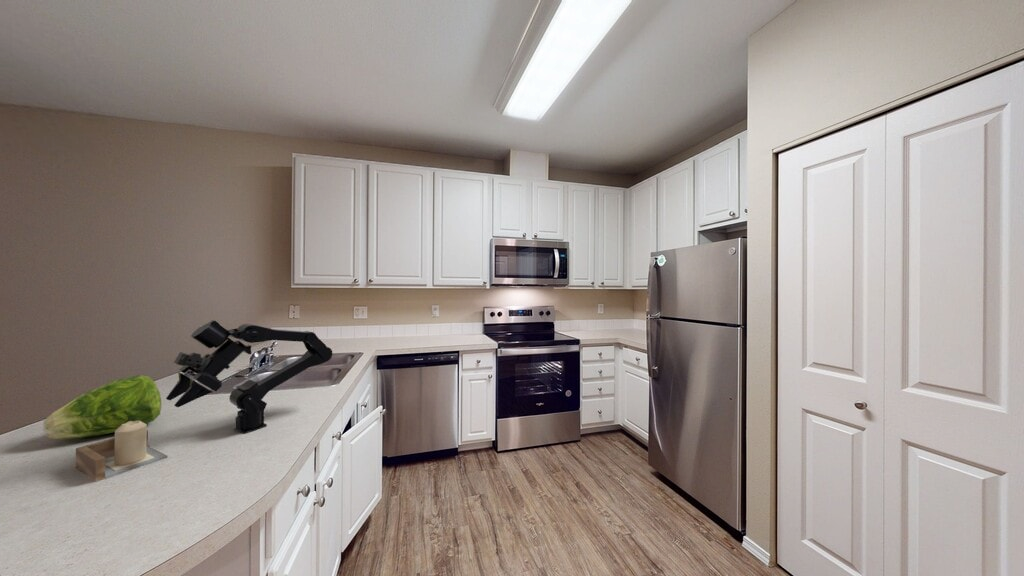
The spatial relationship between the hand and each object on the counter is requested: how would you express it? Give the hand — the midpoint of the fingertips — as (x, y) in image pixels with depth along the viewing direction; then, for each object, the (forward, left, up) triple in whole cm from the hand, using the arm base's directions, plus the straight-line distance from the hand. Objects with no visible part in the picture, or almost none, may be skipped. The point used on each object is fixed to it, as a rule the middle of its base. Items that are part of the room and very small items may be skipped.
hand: (171, 402), depth 93 cm
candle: (+7, -1, -13) cm, 15 cm away
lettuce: (+4, -32, -14) cm, 35 cm away
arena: (+8, -3, -14) cm, 16 cm away
